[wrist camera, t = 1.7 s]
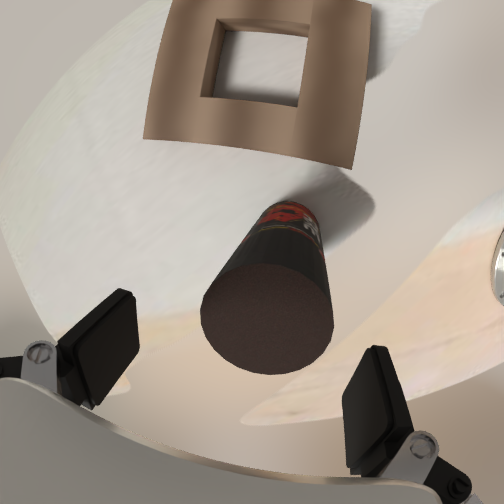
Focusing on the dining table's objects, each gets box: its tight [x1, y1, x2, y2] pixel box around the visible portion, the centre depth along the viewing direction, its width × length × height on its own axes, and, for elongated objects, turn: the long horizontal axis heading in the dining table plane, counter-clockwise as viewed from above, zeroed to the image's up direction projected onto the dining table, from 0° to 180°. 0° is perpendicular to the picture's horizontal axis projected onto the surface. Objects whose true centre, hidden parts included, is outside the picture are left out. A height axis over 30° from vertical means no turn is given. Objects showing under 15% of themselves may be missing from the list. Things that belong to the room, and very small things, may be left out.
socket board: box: [143, 0, 372, 170], centre depth 19 cm, size 18×16×3 cm
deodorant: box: [200, 201, 334, 375], centre depth 19 cm, size 6×6×15 cm
